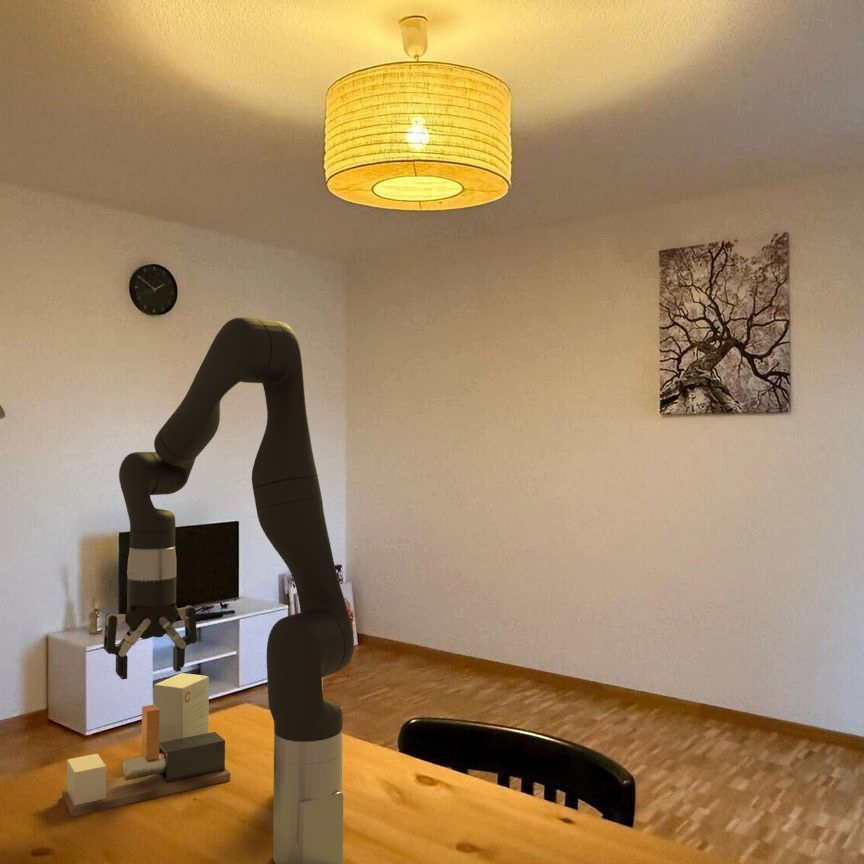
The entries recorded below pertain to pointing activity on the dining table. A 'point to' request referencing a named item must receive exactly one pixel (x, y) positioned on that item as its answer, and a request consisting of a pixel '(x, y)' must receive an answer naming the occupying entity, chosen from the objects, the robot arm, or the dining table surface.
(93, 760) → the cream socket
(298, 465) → the robot arm
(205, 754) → the dark hollow rectangular block
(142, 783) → the walnut board
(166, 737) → the small box
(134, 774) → the sliding bolt
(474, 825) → the dining table surface
